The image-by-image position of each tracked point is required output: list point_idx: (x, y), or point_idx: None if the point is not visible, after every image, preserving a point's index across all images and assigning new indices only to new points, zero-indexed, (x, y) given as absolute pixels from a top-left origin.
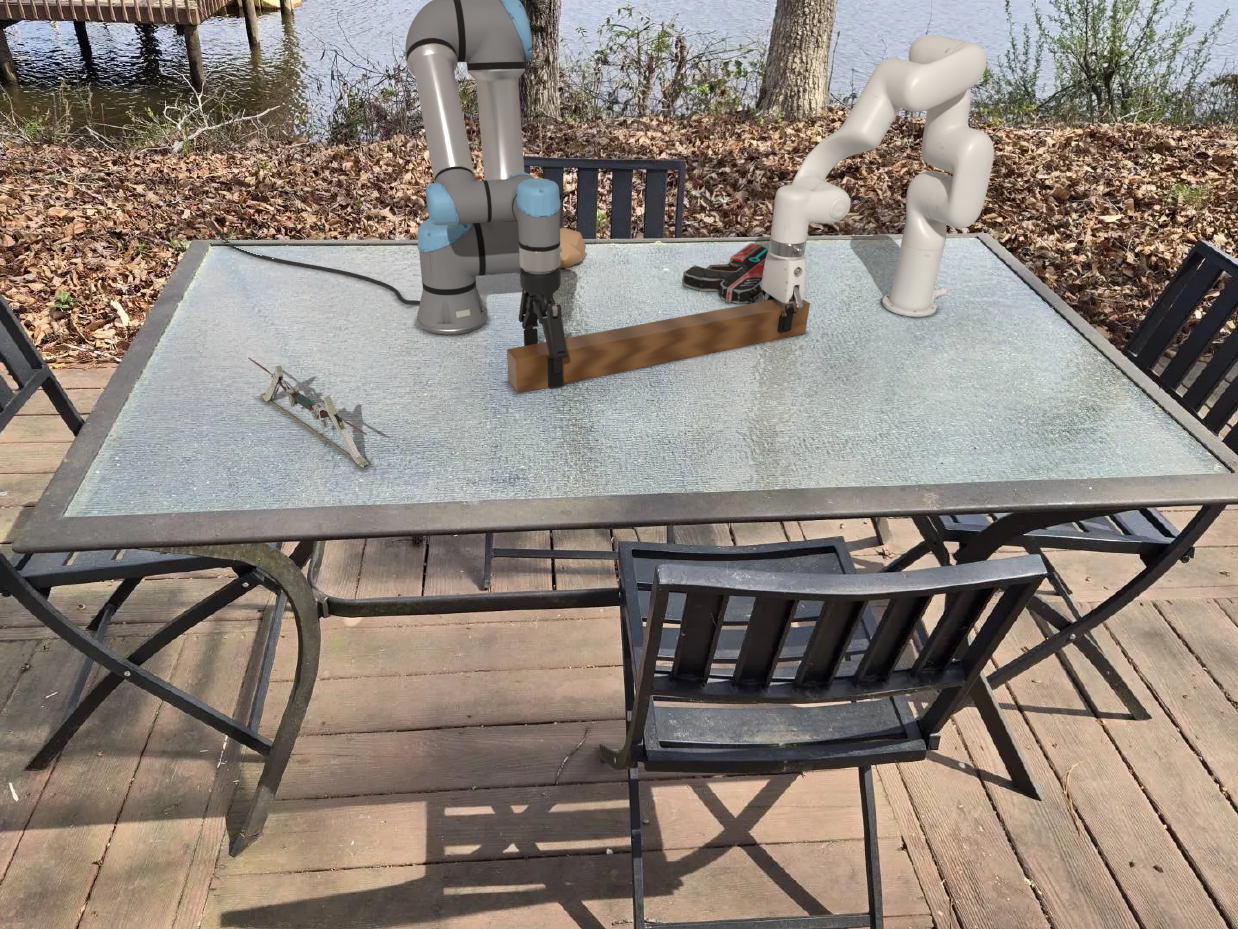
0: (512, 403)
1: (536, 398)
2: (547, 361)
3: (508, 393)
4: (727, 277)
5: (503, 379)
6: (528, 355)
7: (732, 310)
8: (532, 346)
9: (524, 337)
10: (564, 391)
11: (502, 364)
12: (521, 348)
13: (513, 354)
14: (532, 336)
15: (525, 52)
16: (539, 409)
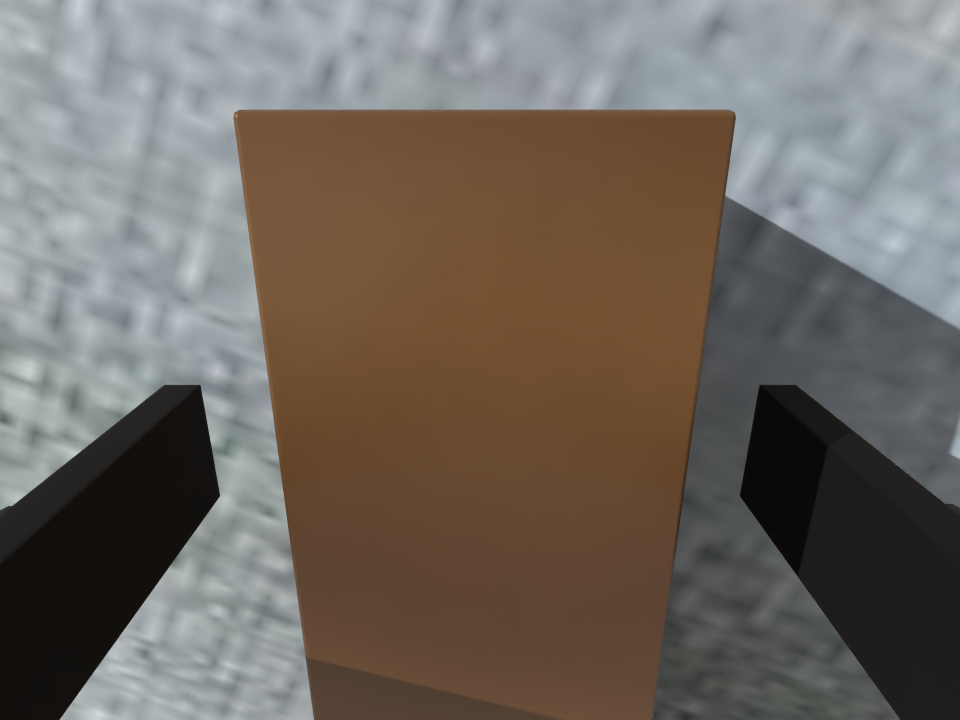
0: (202, 8)
1: (235, 252)
2: (9, 553)
3: (402, 45)
4: None
5: (679, 101)
6: (335, 382)
7: None
8: (610, 536)
9: (958, 537)
10: None
11: (947, 201)
12: (624, 370)
13: (466, 155)
14: (905, 636)
15: None
16: (44, 205)
